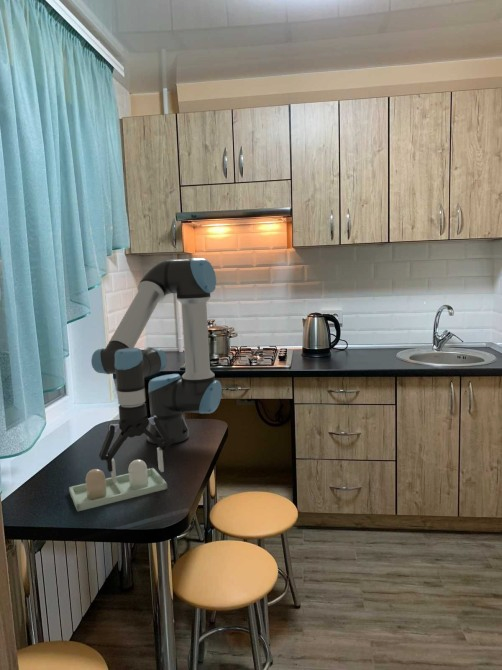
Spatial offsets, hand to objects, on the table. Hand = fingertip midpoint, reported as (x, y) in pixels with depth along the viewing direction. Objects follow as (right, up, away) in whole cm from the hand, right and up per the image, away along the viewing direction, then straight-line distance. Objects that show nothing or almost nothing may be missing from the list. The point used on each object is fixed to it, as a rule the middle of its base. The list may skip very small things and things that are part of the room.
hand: (138, 475), depth 147 cm
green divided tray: (-5, -4, -2) cm, 7 cm away
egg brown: (-10, -4, -5) cm, 12 cm away
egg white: (0, -3, 0) cm, 3 cm away
